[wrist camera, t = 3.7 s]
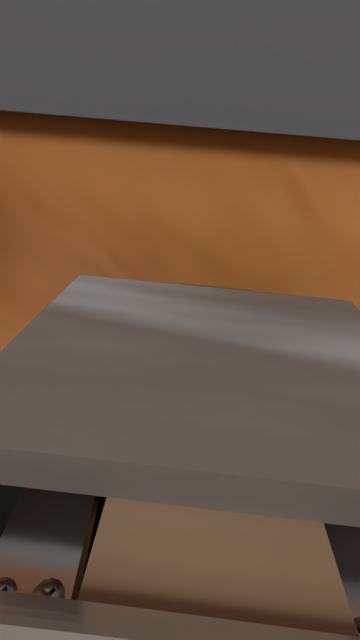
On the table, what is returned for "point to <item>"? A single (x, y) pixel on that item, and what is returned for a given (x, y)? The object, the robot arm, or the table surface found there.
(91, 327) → the brown grey block
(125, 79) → the mat
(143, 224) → the table surface
